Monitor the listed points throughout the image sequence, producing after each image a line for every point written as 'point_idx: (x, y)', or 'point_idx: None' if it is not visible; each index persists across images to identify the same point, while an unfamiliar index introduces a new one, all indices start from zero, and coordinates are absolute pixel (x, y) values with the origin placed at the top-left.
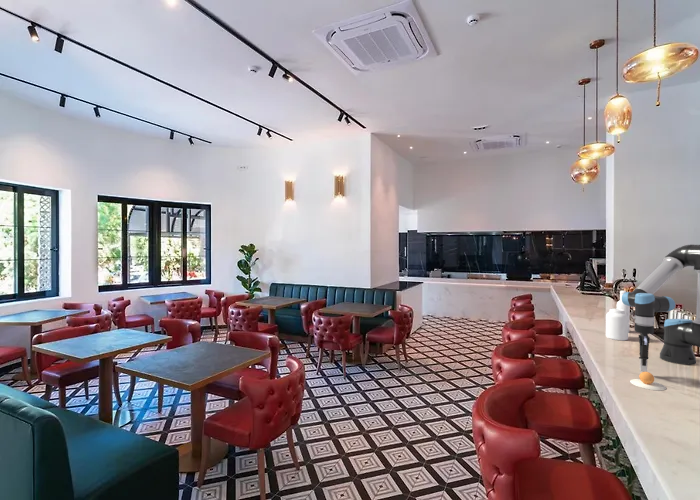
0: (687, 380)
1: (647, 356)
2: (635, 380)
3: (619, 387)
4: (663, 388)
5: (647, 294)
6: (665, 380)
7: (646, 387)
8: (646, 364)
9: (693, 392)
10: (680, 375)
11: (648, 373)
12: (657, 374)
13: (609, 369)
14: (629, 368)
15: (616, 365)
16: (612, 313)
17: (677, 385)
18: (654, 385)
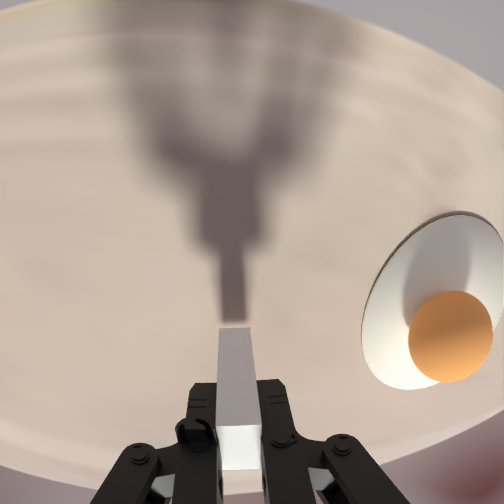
0: (178, 22)
1: (374, 468)
2: (401, 370)
3: (492, 397)
4: (485, 234)
5: None
6: (290, 185)
7: (490, 315)
8: (254, 383)
9: (463, 70)
10: (60, 67)
11: (488, 346)
12: (134, 229)
13: (230, 470)
14: (115, 392)
15: (110, 439)
16: None
17: (379, 121)
18: (456, 278)
